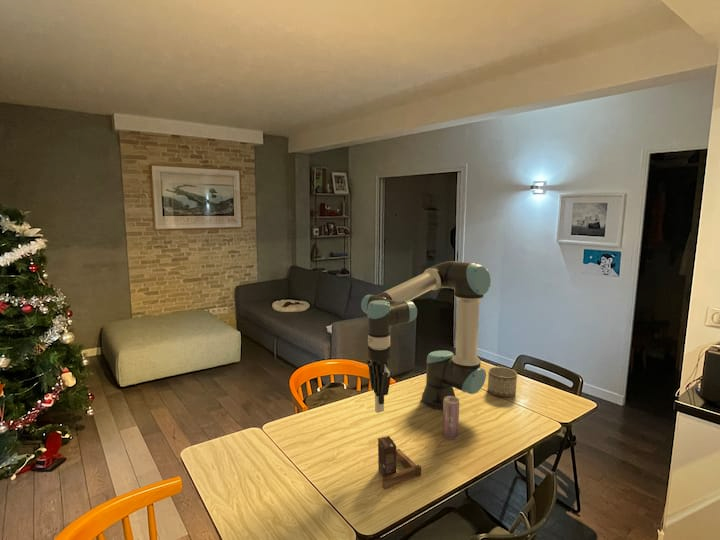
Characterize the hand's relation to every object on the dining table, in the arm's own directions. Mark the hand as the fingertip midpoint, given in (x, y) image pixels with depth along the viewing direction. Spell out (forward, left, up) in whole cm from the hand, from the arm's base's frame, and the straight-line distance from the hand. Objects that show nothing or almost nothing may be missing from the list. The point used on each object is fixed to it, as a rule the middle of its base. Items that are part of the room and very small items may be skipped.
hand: (379, 411), depth 141 cm
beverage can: (+2, +31, -17) cm, 35 cm away
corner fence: (+10, 0, -17) cm, 20 cm away
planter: (-15, +77, -17) cm, 80 cm away
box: (+10, -3, -17) cm, 20 cm away
